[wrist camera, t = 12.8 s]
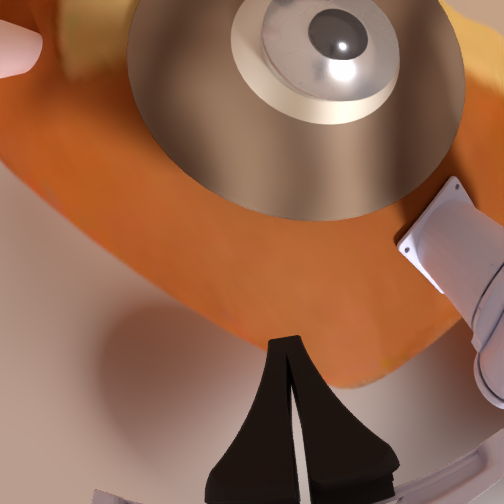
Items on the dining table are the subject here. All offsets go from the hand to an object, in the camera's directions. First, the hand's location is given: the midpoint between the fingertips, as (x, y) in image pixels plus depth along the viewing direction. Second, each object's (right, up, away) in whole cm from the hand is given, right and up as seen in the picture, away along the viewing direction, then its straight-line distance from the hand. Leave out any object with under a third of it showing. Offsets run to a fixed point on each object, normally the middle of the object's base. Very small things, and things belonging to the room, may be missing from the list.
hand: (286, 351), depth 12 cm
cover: (+2, +16, 0) cm, 16 cm away
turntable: (+2, +17, +1) cm, 17 cm away
